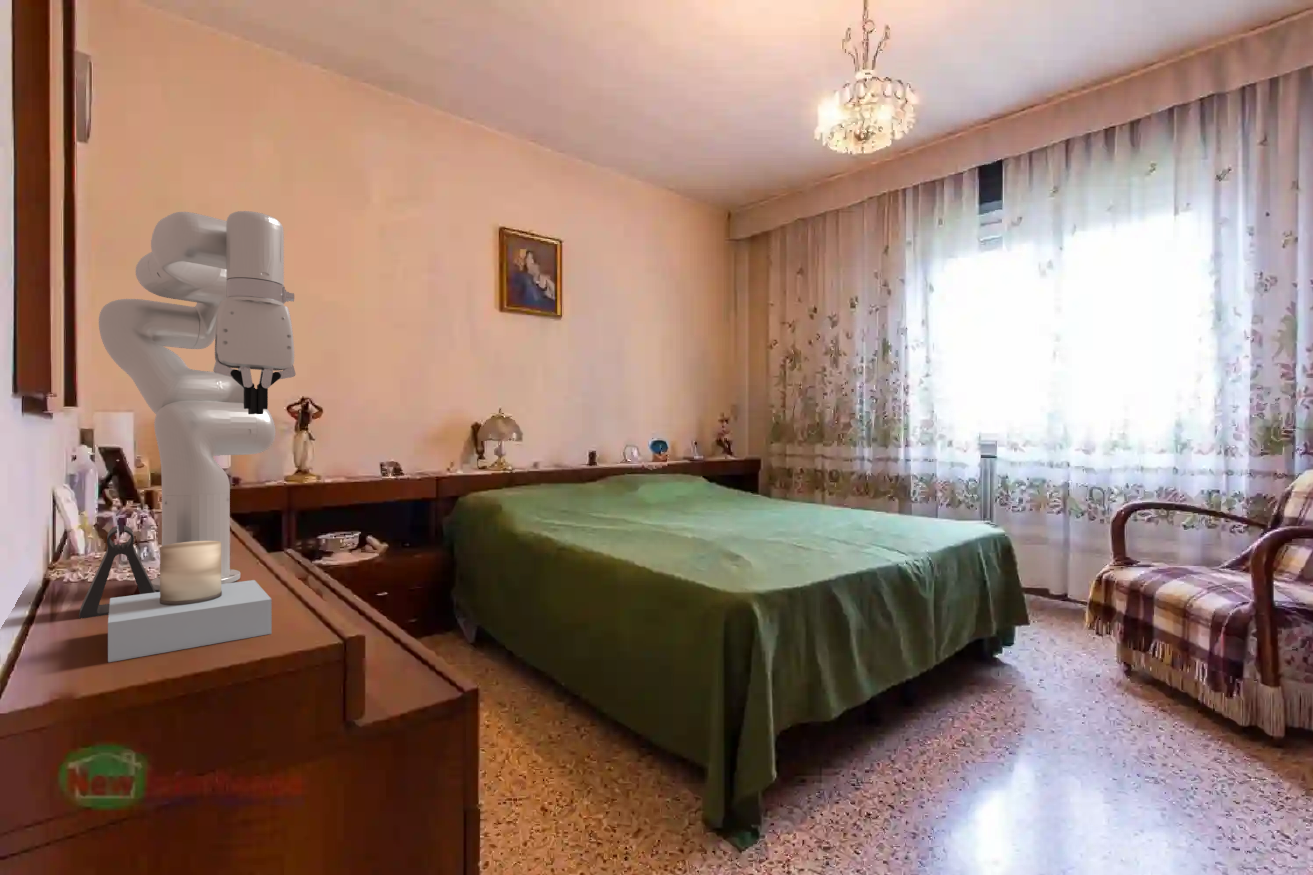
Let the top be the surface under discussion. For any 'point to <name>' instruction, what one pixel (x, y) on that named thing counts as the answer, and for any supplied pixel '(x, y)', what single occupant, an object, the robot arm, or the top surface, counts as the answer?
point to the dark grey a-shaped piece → (95, 591)
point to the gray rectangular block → (186, 621)
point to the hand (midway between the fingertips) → (255, 413)
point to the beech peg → (190, 572)
